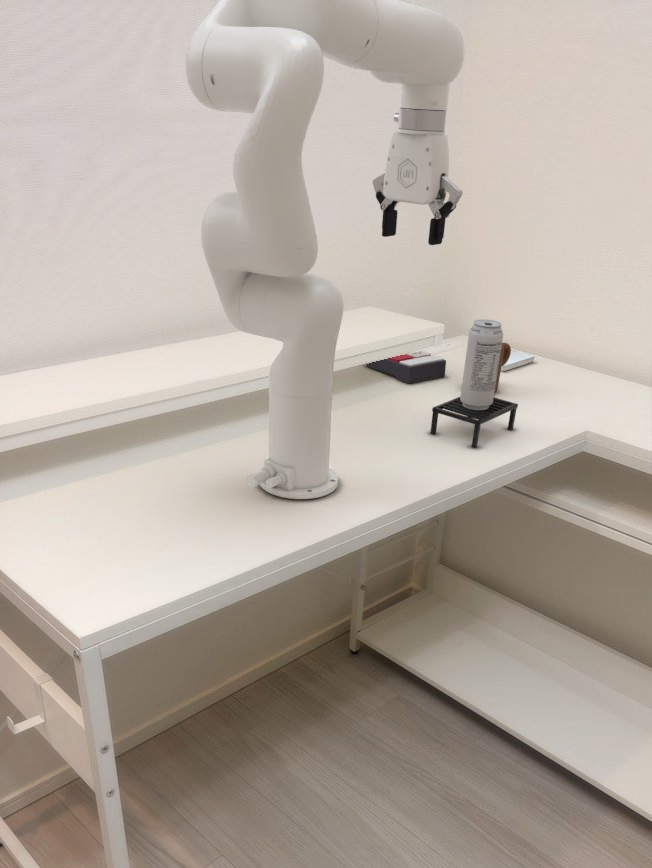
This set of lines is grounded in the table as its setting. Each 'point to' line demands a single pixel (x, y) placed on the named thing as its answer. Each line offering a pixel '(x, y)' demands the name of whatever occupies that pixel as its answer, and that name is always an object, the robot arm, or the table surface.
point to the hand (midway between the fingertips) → (411, 240)
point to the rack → (474, 414)
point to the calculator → (412, 367)
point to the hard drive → (517, 360)
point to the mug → (502, 360)
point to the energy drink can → (481, 364)
